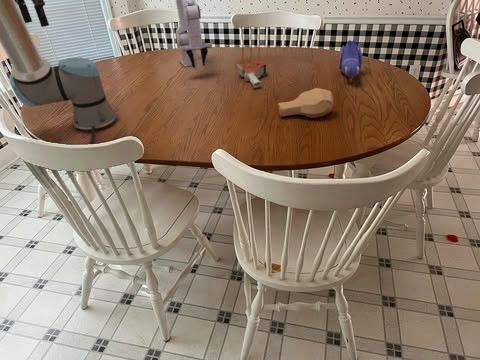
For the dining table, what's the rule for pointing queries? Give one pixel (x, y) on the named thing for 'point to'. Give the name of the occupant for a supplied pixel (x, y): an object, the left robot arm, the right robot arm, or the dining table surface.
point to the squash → (309, 104)
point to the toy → (350, 59)
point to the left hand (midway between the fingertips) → (36, 24)
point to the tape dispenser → (252, 72)
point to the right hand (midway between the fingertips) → (198, 65)
